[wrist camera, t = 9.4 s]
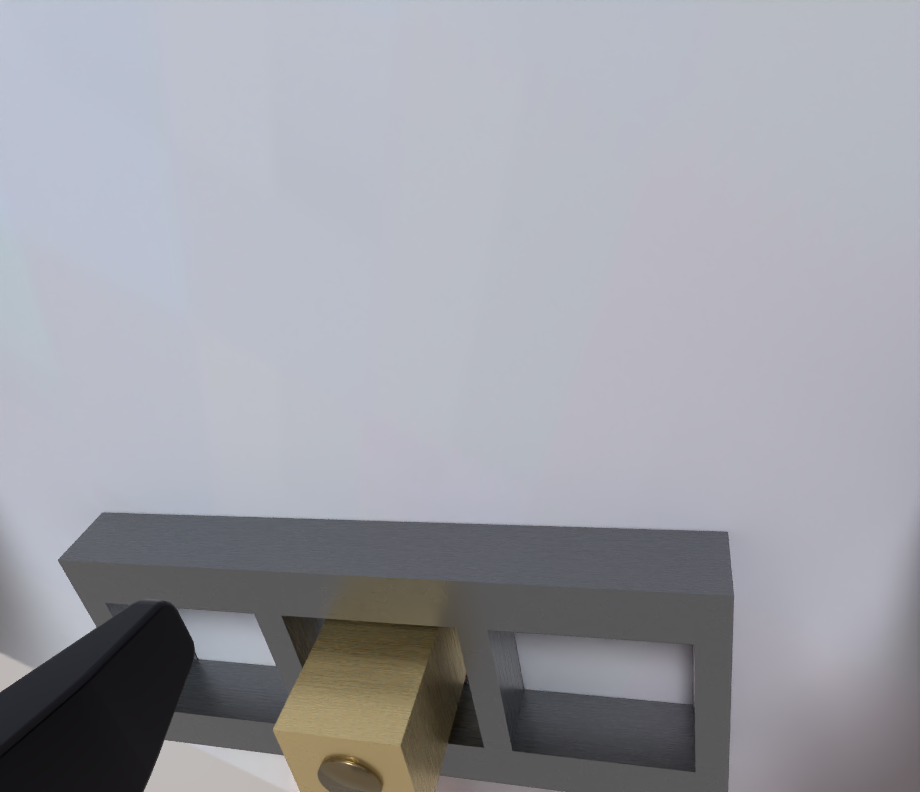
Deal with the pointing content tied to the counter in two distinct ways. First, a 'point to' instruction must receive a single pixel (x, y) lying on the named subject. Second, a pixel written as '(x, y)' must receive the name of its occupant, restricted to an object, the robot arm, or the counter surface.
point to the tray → (446, 605)
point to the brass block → (372, 708)
